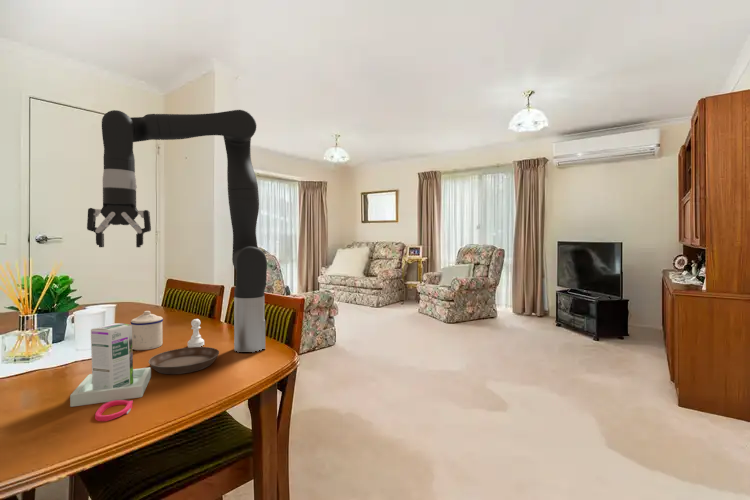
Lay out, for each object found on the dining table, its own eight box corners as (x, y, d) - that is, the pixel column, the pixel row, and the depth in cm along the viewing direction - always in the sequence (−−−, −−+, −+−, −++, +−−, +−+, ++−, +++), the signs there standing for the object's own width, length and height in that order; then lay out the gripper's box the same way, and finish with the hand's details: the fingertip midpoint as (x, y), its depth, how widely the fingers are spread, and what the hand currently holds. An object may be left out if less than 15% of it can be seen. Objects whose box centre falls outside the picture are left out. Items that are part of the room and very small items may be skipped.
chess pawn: (184, 346, 123) (184, 319, 122) (200, 342, 126) (200, 316, 126) (191, 349, 119) (191, 321, 119) (207, 345, 123) (206, 319, 123)
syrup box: (111, 393, 83) (110, 329, 83) (91, 390, 85) (90, 327, 84) (133, 384, 89) (133, 324, 88) (114, 381, 90) (113, 322, 90)
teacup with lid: (166, 341, 127) (165, 308, 127) (159, 349, 119) (159, 313, 118) (125, 344, 123) (124, 309, 123) (116, 352, 115) (115, 315, 114)
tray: (150, 376, 96) (150, 367, 96) (142, 396, 84) (141, 386, 84) (89, 384, 90) (89, 374, 90) (70, 406, 79) (70, 395, 78)
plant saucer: (132, 372, 99) (132, 361, 99) (187, 353, 116) (187, 343, 116) (183, 382, 93) (182, 370, 93) (232, 360, 110) (232, 350, 110)
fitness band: (125, 420, 74) (125, 412, 74) (90, 424, 72) (90, 417, 72) (135, 403, 82) (135, 396, 82) (104, 406, 80) (104, 399, 79)
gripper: (83, 184, 95) (84, 247, 95) (147, 188, 100) (148, 247, 101) (91, 187, 102) (92, 246, 102) (152, 191, 107) (152, 246, 108)
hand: (120, 247), depth 102 cm, fingers open, 8 cm apart
